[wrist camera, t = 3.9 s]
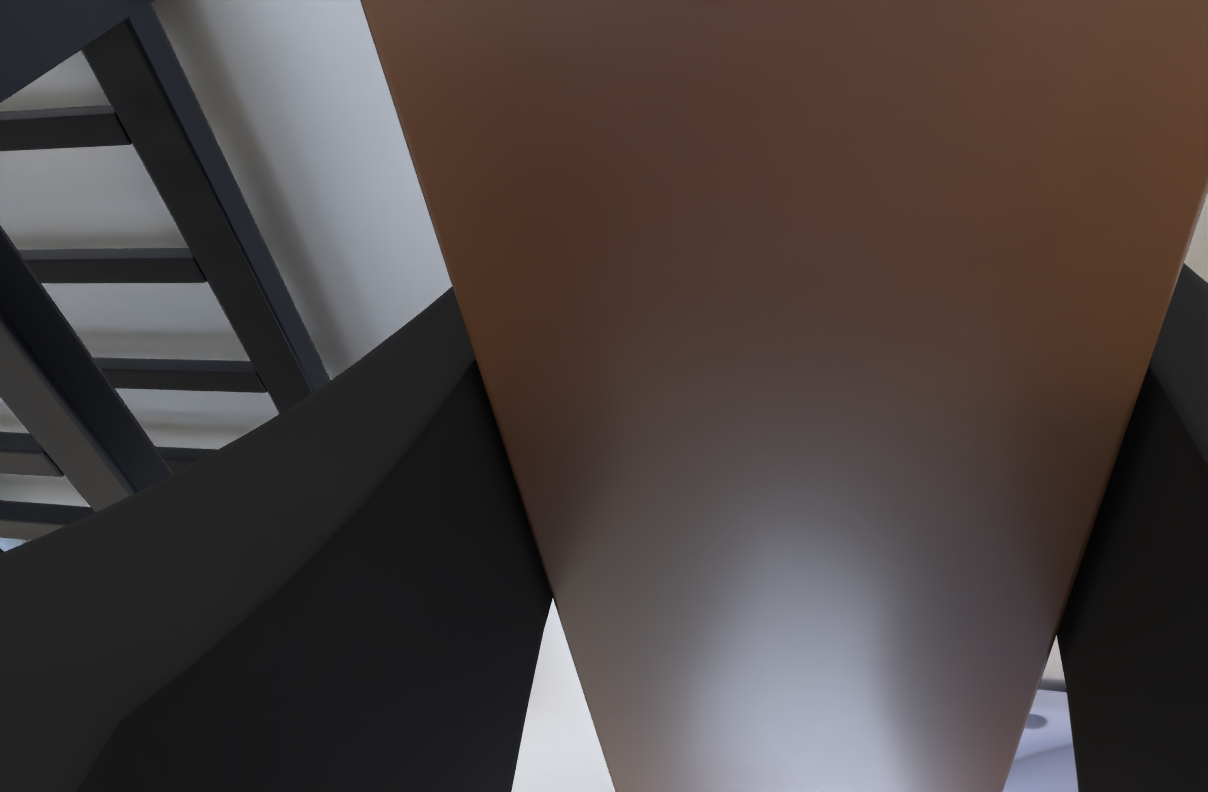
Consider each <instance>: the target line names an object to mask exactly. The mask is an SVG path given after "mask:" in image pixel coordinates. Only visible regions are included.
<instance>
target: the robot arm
mask: <svg viewBox="0 0 1208 792" xmlns="http://www.w3.org/2000/svg"><path fill="white" fill-rule="evenodd" d="M552 598H553V596H552V593H551V590H550V587H549V584H548V581H547V578H546V574H545V571H544V568H543V565H542V562H541V559H540V556H539V553H538V550H537V547H536V543H535V540H534V537H533V534H532V531H531V528H530V525H529V522H528V519H527V516H526V512H525V509H524V506H523V503H522V500H521V497H520V494H519V491H518V488H517V485H516V481H515V478H514V475H513V472H512V469H511V466H510V463H509V460H508V457H507V454H506V450H505V447H504V444H503V441H502V438H501V435H500V432H499V429H498V426H497V423H496V419H495V416H494V413H493V410H492V407H491V404H490V401H489V398H488V395H487V392H486V388H485V385H484V382H483V379H482V376H481V373H480V370H479V367H478V364H477V360H476V357H475V354H474V351H473V348H472V345H471V342H470V339H469V336H468V333H467V329H466V326H465V323H464V320H463V317H462V314H461V311H460V308H459V305H458V302H457V298H456V295H455V292H454V289H453V286H452V287H451V288H450V289H449V290H447V291H446V292H445V293H444V294H443V295H441V296H440V297H439V298H438V299H437V300H436V301H434V302H433V303H432V304H431V305H430V306H429V307H427V308H426V309H425V310H424V311H422V312H421V313H420V314H419V315H417V316H416V317H415V318H413V319H412V320H411V321H410V322H408V323H407V324H406V325H404V326H403V327H402V328H401V329H399V330H398V331H397V332H395V333H394V334H393V335H391V336H390V337H389V338H388V339H386V340H385V341H384V342H382V343H381V344H380V345H379V346H377V347H376V348H375V349H373V350H372V351H371V352H369V353H368V354H367V355H366V356H364V357H363V358H362V359H360V360H359V361H358V362H357V363H355V364H354V365H352V366H351V367H350V368H348V369H347V370H345V371H344V372H343V373H341V374H340V375H338V376H337V377H336V378H334V379H333V380H331V381H330V382H328V383H327V384H325V385H324V386H322V387H321V388H319V389H318V390H316V391H315V392H314V393H312V394H310V395H309V396H307V397H306V398H304V399H303V400H301V401H299V402H298V403H296V404H295V405H293V406H292V407H290V408H288V409H287V410H285V411H284V412H282V413H281V414H279V415H277V416H276V417H274V418H273V419H271V420H270V421H268V422H266V423H265V424H263V425H261V426H260V427H258V428H256V429H255V430H253V431H251V432H250V433H248V434H246V435H244V436H242V437H240V438H239V439H237V440H235V441H233V442H231V443H229V444H228V445H226V446H224V447H222V448H220V449H218V450H217V451H215V452H213V453H211V454H209V455H207V456H206V457H204V458H202V459H200V460H198V461H196V462H195V463H193V464H191V465H189V466H187V467H185V468H184V469H182V470H180V471H178V472H176V473H174V474H173V475H171V476H169V477H167V478H165V479H163V480H162V481H160V482H158V483H156V484H154V485H152V486H150V487H148V488H146V489H143V490H141V491H139V492H137V493H135V494H133V495H131V496H129V497H127V498H125V499H123V500H121V501H118V502H116V503H114V504H112V505H110V506H108V507H106V508H104V509H102V510H100V511H97V512H95V513H93V514H91V515H88V516H86V517H84V518H82V519H79V520H77V521H75V522H73V523H70V524H68V525H66V526H64V527H62V528H59V529H57V530H55V531H53V532H50V533H48V534H46V535H44V536H41V537H39V538H36V539H34V540H32V541H29V542H27V543H25V544H22V545H20V546H17V547H15V548H13V549H10V550H8V551H5V552H3V553H0V792H511V790H512V785H513V780H514V775H515V769H516V764H517V759H518V754H519V748H520V743H521V738H522V733H523V727H524V722H525V717H526V712H527V707H528V702H529V697H530V693H531V688H532V683H533V678H534V674H535V669H536V664H537V659H538V655H539V650H540V645H541V641H542V636H543V631H544V627H545V624H546V620H547V617H548V613H549V609H550V606H551V602H552ZM1056 635H1057V639H1058V645H1059V650H1060V655H1061V661H1062V666H1063V672H1064V677H1065V683H1066V691H1067V692H1058V691H1048V690H1039V689H1038V690H1037V693H1036V696H1035V699H1034V702H1033V704H1032V707H1031V710H1030V713H1029V716H1028V719H1027V722H1026V725H1025V728H1024V731H1023V734H1022V737H1021V740H1020V742H1019V745H1018V748H1017V751H1016V754H1015V757H1014V760H1013V763H1012V766H1011V769H1010V772H1009V775H1008V778H1007V780H1006V783H1005V786H1004V789H1003V792H1208V283H1207V282H1205V281H1204V280H1203V279H1202V278H1201V277H1199V276H1198V275H1197V274H1196V273H1195V272H1193V271H1192V270H1191V269H1190V268H1189V267H1188V266H1187V265H1185V264H1184V263H1183V266H1182V269H1181V271H1180V274H1179V277H1178V280H1177V283H1176V286H1175V289H1174V292H1173V295H1172V298H1171V301H1170V304H1169V307H1168V309H1167V312H1166V315H1165V318H1164V321H1163V324H1162V327H1161V330H1160V333H1159V336H1158V339H1157V342H1156V345H1155V348H1154V350H1153V353H1152V356H1151V359H1150V362H1149V365H1148V368H1147V371H1146V374H1145V377H1144V380H1143V383H1142V386H1141V388H1140V391H1139V394H1138V397H1137V400H1136V403H1135V406H1134V409H1133V412H1132V415H1131V418H1130V421H1129V424H1128V427H1127V429H1126V432H1125V435H1124V438H1123V441H1122V444H1121V447H1120V450H1119V453H1118V456H1117V459H1116V462H1115V465H1114V467H1113V470H1112V473H1111V476H1110V479H1109V482H1108V485H1107V488H1106V491H1105V494H1104V497H1103V500H1102V503H1101V505H1100V508H1099V511H1098V514H1097V517H1096V520H1095V523H1094V526H1093V529H1092V532H1091V535H1090V538H1089V541H1088V544H1087V546H1086V549H1085V552H1084V555H1083V558H1082V561H1081V564H1080V567H1079V570H1078V573H1077V576H1076V579H1075V582H1074V584H1073V587H1072V590H1071V593H1070V596H1069V599H1068V602H1067V605H1066V608H1065V611H1064V614H1063V617H1062V620H1061V623H1060V625H1059V628H1058V631H1057V634H1056Z"/></svg>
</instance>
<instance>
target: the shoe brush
mask: <svg viewBox="0 0 1208 792" xmlns="http://www.w3.org/2000/svg"><path fill="white" fill-rule="evenodd" d="M360 1H361V4H362V7H363V10H364V13H365V16H366V19H367V22H368V26H369V29H370V32H371V35H372V38H373V41H374V44H375V47H376V50H377V53H378V57H379V60H380V63H381V66H382V69H383V72H384V75H385V78H386V81H387V84H388V88H389V91H390V94H391V97H392V100H393V103H394V106H395V109H396V112H397V115H398V119H399V122H400V125H401V128H402V131H403V134H404V137H405V140H406V143H407V146H408V150H409V153H410V156H411V159H412V162H413V165H414V168H415V171H416V174H417V178H418V181H419V184H420V187H421V190H422V193H423V196H424V199H425V202H426V205H427V209H428V212H429V215H430V218H431V221H432V224H433V227H434V230H435V233H436V236H437V240H438V243H439V246H440V249H441V252H442V255H443V258H444V261H445V264H446V267H447V271H448V274H449V277H450V280H451V283H452V286H453V289H454V292H455V295H456V298H457V302H458V305H459V308H460V311H461V314H462V317H463V320H464V323H465V326H466V329H467V333H468V336H469V339H470V342H471V345H472V348H473V351H474V354H475V357H476V360H477V364H478V367H479V370H480V373H481V376H482V379H483V382H484V385H485V388H486V392H487V395H488V398H489V401H490V404H491V407H492V410H493V413H494V416H495V419H496V423H497V426H498V429H499V432H500V435H501V438H502V441H503V444H504V447H505V450H506V454H507V457H508V460H509V463H510V466H511V469H512V472H513V475H514V478H515V481H516V485H517V488H518V491H519V494H520V497H521V500H522V503H523V506H524V509H525V512H526V516H527V519H528V522H529V525H530V528H531V531H532V534H533V537H534V540H535V543H536V547H537V550H538V553H539V556H540V559H541V562H542V565H543V568H544V571H545V574H546V578H547V581H548V584H549V587H550V590H551V593H552V596H553V599H554V602H555V606H556V609H557V612H558V615H559V618H560V621H561V624H562V627H563V630H564V633H565V637H566V640H567V643H568V646H569V649H570V652H571V655H572V658H573V661H574V664H575V668H576V671H577V674H578V677H579V680H580V683H581V686H582V689H583V692H584V695H585V699H586V702H587V705H588V708H589V711H590V714H591V717H592V720H593V723H594V726H595V730H596V733H597V736H598V739H599V742H600V745H601V748H602V751H603V754H604V757H605V761H606V764H607V767H608V770H609V773H610V776H611V779H612V782H613V785H614V788H615V792H1003V789H1004V786H1005V783H1006V780H1007V778H1008V775H1009V772H1010V769H1011V766H1012V763H1013V760H1014V757H1015V754H1016V751H1017V748H1018V745H1019V742H1020V740H1021V737H1022V734H1023V731H1024V728H1025V725H1026V722H1027V719H1028V716H1029V713H1030V710H1031V707H1032V704H1033V702H1034V699H1035V696H1036V693H1037V690H1038V687H1039V684H1040V681H1041V678H1042V675H1043V672H1044V669H1045V666H1046V663H1047V661H1048V658H1049V655H1050V652H1051V649H1052V646H1053V643H1054V640H1055V637H1056V634H1057V631H1058V628H1059V625H1060V623H1061V620H1062V617H1063V614H1064V611H1065V608H1066V605H1067V602H1068V599H1069V596H1070V593H1071V590H1072V587H1073V584H1074V582H1075V579H1076V576H1077V573H1078V570H1079V567H1080V564H1081V561H1082V558H1083V555H1084V552H1085V549H1086V546H1087V544H1088V541H1089V538H1090V535H1091V532H1092V529H1093V526H1094V523H1095V520H1096V517H1097V514H1098V511H1099V508H1100V505H1101V503H1102V500H1103V497H1104V494H1105V491H1106V488H1107V485H1108V482H1109V479H1110V476H1111V473H1112V470H1113V467H1114V465H1115V462H1116V459H1117V456H1118V453H1119V450H1120V447H1121V444H1122V441H1123V438H1124V435H1125V432H1126V429H1127V427H1128V424H1129V421H1130V418H1131V415H1132V412H1133V409H1134V406H1135V403H1136V400H1137V397H1138V394H1139V391H1140V388H1141V386H1142V383H1143V380H1144V377H1145V374H1146V371H1147V368H1148V365H1149V362H1150V359H1151V356H1152V353H1153V350H1154V348H1155V345H1156V342H1157V339H1158V336H1159V333H1160V330H1161V327H1162V324H1163V321H1164V318H1165V315H1166V312H1167V309H1168V307H1169V304H1170V301H1171V298H1172V295H1173V292H1174V289H1175V286H1176V283H1177V280H1178V277H1179V274H1180V271H1181V269H1182V266H1183V263H1184V260H1185V257H1186V254H1187V251H1188V248H1189V245H1190V242H1191V239H1192V236H1193V233H1194V230H1195V228H1196V225H1197V222H1198V219H1199V216H1200V213H1201V210H1202V207H1203V204H1204V201H1205V198H1206V195H1207V192H1208V0H360Z"/></svg>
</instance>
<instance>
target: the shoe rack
mask: <svg viewBox="0 0 1208 792" xmlns="http://www.w3.org/2000/svg"><path fill="white" fill-rule="evenodd" d="M154 1H155V0H0V103H1V102H3V101H4V100H6V99H7V98H9V97H10V96H12V95H13V94H15V93H16V92H18V91H19V90H21V89H22V88H24V87H25V86H27V85H28V84H30V83H31V82H33V81H34V80H36V79H37V78H39V77H40V76H42V75H43V74H45V73H46V72H48V71H49V70H51V69H53V68H54V67H56V66H57V65H59V64H60V63H62V62H63V61H65V60H66V59H68V58H69V57H71V56H72V55H74V54H75V53H77V52H78V51H80V50H81V51H82V52H83V54H84V56H85V58H86V60H87V62H88V63H89V65H90V67H91V69H92V71H93V73H94V74H95V76H96V78H97V80H98V82H99V84H100V85H101V87H102V89H103V91H104V93H105V95H106V96H107V98H108V100H109V102H110V104H111V105H102V106H86V107H70V108H55V109H39V110H23V111H7V112H0V151H15V150H35V149H55V148H76V147H96V146H116V145H130V144H133V146H134V148H135V150H136V151H137V153H138V155H139V157H140V159H141V161H142V162H143V164H144V166H145V168H146V170H147V172H148V173H149V175H150V177H151V179H152V181H153V183H154V184H155V186H156V188H157V190H158V192H159V194H160V195H161V197H162V199H163V201H164V203H165V205H166V206H167V208H168V210H169V212H170V214H171V216H172V217H173V219H174V221H175V223H176V225H177V227H178V228H179V230H180V232H181V234H182V236H183V238H184V239H185V241H186V243H187V245H188V247H178V248H112V249H46V250H17V248H16V247H15V246H14V244H13V243H12V241H11V240H10V238H9V237H8V236H7V234H6V233H5V231H4V230H3V228H2V227H1V226H0V397H1V398H2V399H3V401H4V402H5V403H6V404H7V405H8V407H9V408H10V409H11V410H12V412H13V413H14V414H15V415H16V416H17V418H18V419H19V420H20V421H21V423H22V424H23V425H24V426H25V427H26V429H27V430H28V431H29V432H30V433H15V432H0V473H6V474H22V475H38V476H54V477H62V476H64V475H65V476H66V477H67V479H68V480H69V481H70V482H71V483H72V485H73V486H74V487H75V488H76V489H77V491H78V492H79V493H80V494H81V496H82V497H83V498H84V499H85V500H86V502H87V503H88V504H89V505H90V507H83V506H70V505H56V504H42V503H28V502H14V501H1V500H0V537H2V538H14V539H25V540H34V539H36V538H39V537H41V536H44V535H46V534H48V533H50V532H53V531H55V530H57V529H59V528H62V527H64V526H66V525H68V524H70V523H73V522H75V521H77V520H79V519H82V518H84V517H86V516H88V515H91V514H93V513H95V512H97V511H100V510H102V509H104V508H106V507H108V506H110V505H112V504H114V503H116V502H118V501H121V500H123V499H125V498H127V497H129V496H131V495H133V494H135V493H137V492H139V491H141V490H143V489H146V488H148V487H150V486H152V485H154V484H156V483H158V482H160V481H162V480H163V479H165V478H167V477H169V476H171V475H173V474H174V473H176V472H178V471H180V470H182V469H184V468H185V467H187V466H189V465H191V464H193V463H195V462H196V461H198V460H200V459H202V458H204V457H206V456H207V455H209V454H211V453H213V452H215V451H217V450H215V449H195V448H176V447H156V446H154V445H153V443H152V442H151V440H150V439H149V437H148V436H147V434H146V433H145V432H144V430H143V429H142V427H141V426H140V424H139V423H138V422H137V420H136V419H135V417H134V416H133V414H132V413H131V412H130V410H129V409H128V407H127V406H126V404H125V403H124V402H123V400H122V399H121V397H120V396H119V394H118V393H117V392H116V390H115V389H114V388H128V389H159V390H191V391H222V392H254V393H266V392H268V393H269V395H270V397H271V399H272V401H273V403H274V404H275V406H276V408H277V410H278V412H279V414H281V413H282V412H284V411H285V410H287V409H288V408H290V407H292V406H293V405H295V404H296V403H298V402H299V401H301V400H303V399H304V398H306V397H307V396H309V395H310V394H312V393H314V392H315V391H316V390H318V389H319V388H321V387H322V386H324V385H325V384H327V383H328V382H330V381H331V380H330V378H329V376H328V374H327V372H326V370H325V368H324V366H323V363H322V361H321V359H320V357H319V355H318V353H317V351H316V349H315V347H314V345H313V342H312V340H311V338H310V336H309V334H308V332H307V330H306V328H305V326H304V324H303V321H302V319H301V317H300V315H299V313H298V311H297V309H296V307H295V305H294V302H293V300H292V298H291V296H290V294H289V292H288V290H287V288H286V286H285V284H284V281H283V279H282V277H281V275H280V273H279V271H278V269H277V267H276V265H275V263H274V260H273V258H272V256H271V254H270V252H269V250H268V248H267V246H266V244H265V242H264V239H263V237H262V235H261V233H260V231H259V229H258V227H257V225H256V223H255V221H254V218H253V216H252V214H251V212H250V210H249V208H248V206H247V204H246V202H245V199H244V197H243V195H242V193H241V191H240V189H239V187H238V185H237V183H236V181H235V178H234V176H233V174H232V172H231V170H230V168H229V166H228V164H227V162H226V160H225V157H224V155H223V153H222V151H221V149H220V147H219V145H218V143H217V141H216V139H215V136H214V134H213V132H212V130H211V128H210V126H209V124H208V122H207V120H206V117H205V115H204V113H203V111H202V109H201V107H200V105H199V103H198V101H197V99H196V96H195V94H194V92H193V90H192V88H191V86H190V84H189V82H188V80H187V78H186V75H185V73H184V71H183V69H182V67H181V65H180V63H179V61H178V59H177V57H176V54H175V52H174V50H173V48H172V46H171V44H170V42H169V40H168V38H167V36H166V33H165V31H164V29H163V27H162V25H161V23H160V21H159V19H158V17H157V14H156V12H155V10H154V8H153V6H152V4H151V3H152V2H154ZM205 282H208V283H209V285H210V287H211V289H212V291H213V293H214V294H215V296H216V298H217V300H218V302H219V304H220V305H221V307H222V309H223V311H224V313H225V315H226V316H227V318H228V320H229V322H230V324H231V326H232V327H233V329H234V331H235V333H236V335H237V337H238V338H239V340H240V342H241V344H242V346H243V348H244V349H245V351H246V353H247V355H248V357H249V359H250V360H251V361H227V360H181V359H135V358H93V357H92V356H91V354H90V353H89V352H88V350H87V349H86V347H85V346H84V344H83V343H82V341H81V340H80V339H79V337H78V336H77V334H76V333H75V331H74V330H73V329H72V327H71V326H70V324H69V323H68V321H67V320H66V319H65V317H64V316H63V314H62V313H61V311H60V310H59V309H58V307H57V306H56V304H55V303H54V301H53V300H52V299H51V297H50V296H49V294H48V293H47V291H46V290H45V289H44V287H43V286H42V284H41V283H205ZM3 552H4V551H3V550H2V549H1V548H0V553H3Z"/></svg>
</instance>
